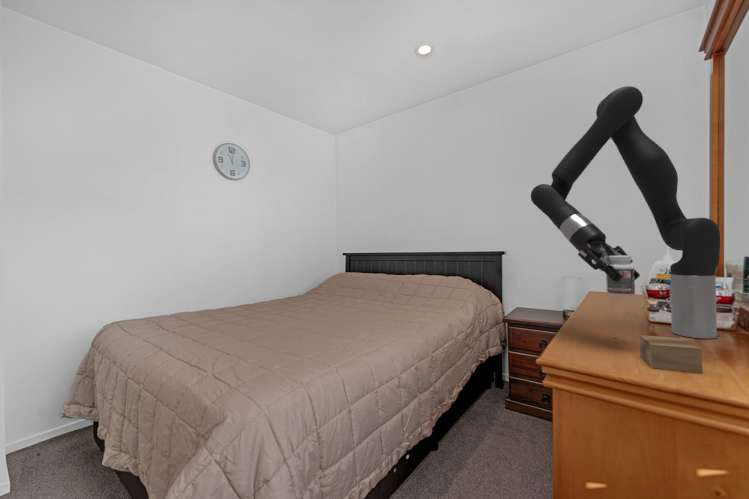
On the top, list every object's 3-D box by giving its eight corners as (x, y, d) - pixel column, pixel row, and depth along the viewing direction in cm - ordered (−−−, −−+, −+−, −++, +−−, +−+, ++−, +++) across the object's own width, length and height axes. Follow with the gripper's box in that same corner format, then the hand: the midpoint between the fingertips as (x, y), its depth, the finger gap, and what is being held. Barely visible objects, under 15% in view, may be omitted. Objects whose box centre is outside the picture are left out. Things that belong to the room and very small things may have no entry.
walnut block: (640, 356, 76) (639, 335, 76) (684, 360, 73) (684, 338, 73) (652, 368, 69) (651, 344, 69) (702, 373, 66) (701, 348, 66)
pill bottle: (640, 296, 78) (639, 256, 78) (613, 296, 80) (612, 256, 80) (627, 293, 84) (626, 255, 84) (602, 293, 85) (601, 255, 85)
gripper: (571, 223, 86) (618, 270, 75) (608, 223, 91) (659, 267, 80) (554, 243, 91) (597, 290, 80) (591, 242, 96) (636, 286, 85)
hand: (627, 278), depth 80 cm, fingers closed on pill bottle, 5 cm apart
